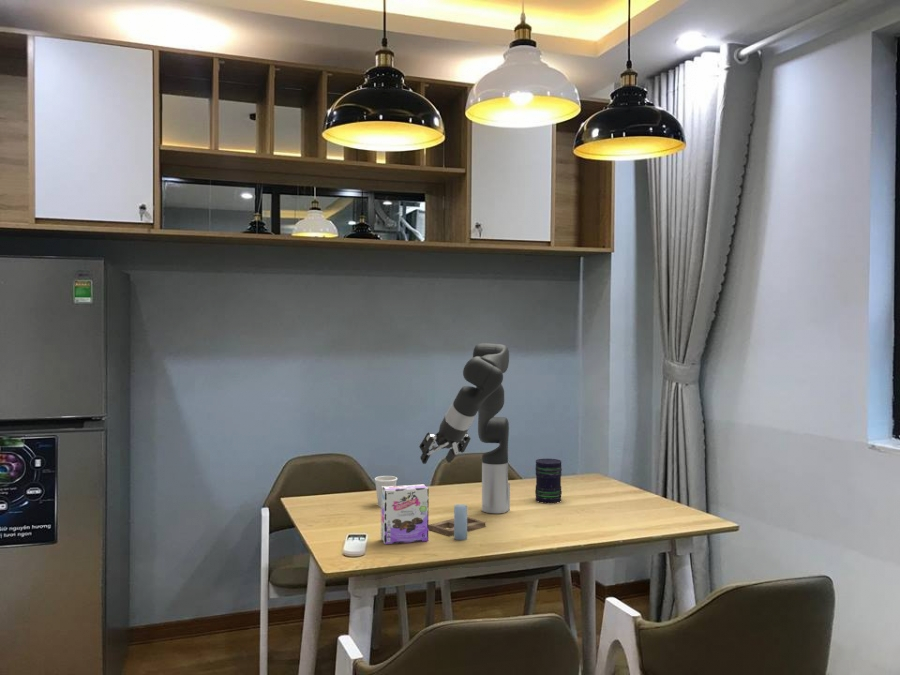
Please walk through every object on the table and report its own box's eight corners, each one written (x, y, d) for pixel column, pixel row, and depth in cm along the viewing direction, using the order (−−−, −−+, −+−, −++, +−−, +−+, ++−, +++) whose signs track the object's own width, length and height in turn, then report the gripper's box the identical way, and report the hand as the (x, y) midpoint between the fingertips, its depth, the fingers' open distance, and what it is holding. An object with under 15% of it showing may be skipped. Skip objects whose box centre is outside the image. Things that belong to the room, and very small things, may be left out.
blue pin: (460, 535, 221) (460, 503, 221) (469, 538, 218) (469, 506, 218) (451, 538, 219) (451, 505, 218) (460, 541, 216) (460, 508, 215)
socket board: (464, 520, 239) (464, 516, 239) (485, 526, 232) (485, 521, 232) (428, 529, 228) (428, 524, 228) (449, 536, 221) (449, 531, 221)
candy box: (384, 545, 212) (384, 490, 211) (380, 539, 217) (380, 485, 217) (429, 541, 215) (429, 487, 215) (424, 535, 221) (424, 483, 221)
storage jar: (563, 503, 262) (563, 463, 262) (536, 503, 262) (536, 463, 262) (559, 497, 272) (559, 458, 272) (534, 497, 272) (534, 458, 272)
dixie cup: (369, 505, 259) (369, 478, 259) (387, 501, 265) (387, 474, 265) (384, 509, 253) (384, 481, 253) (402, 505, 259) (402, 478, 259)
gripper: (472, 411, 202) (450, 451, 210) (431, 410, 194) (409, 452, 202) (484, 429, 197) (461, 469, 205) (442, 429, 189) (419, 471, 197)
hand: (435, 461), depth 204 cm, fingers open, 8 cm apart
